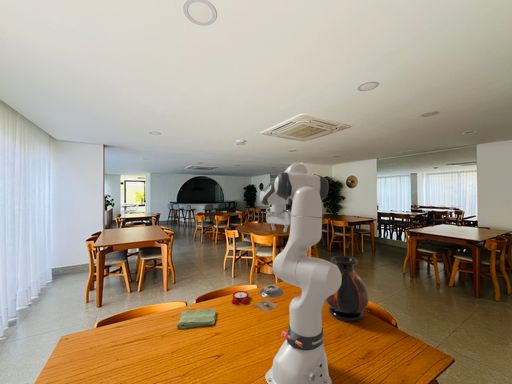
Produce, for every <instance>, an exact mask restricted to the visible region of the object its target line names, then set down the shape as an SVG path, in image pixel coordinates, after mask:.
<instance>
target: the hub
mask: <svg viewBox="0 0 512 384" xmlns="http://www.w3.org/2000/svg"><path fill="white" fill-rule="evenodd" d="M277 287H279V292H278V293H276V294H274V295H269V294H268V295H267V294H265V292H264V287H263V288H262V289H260V290H259V294H260V296H262V297H265V298H269V299H270V298H271V299H273V298H274V299H275V298H279V297H282V295H284V290H283V289H281V288H280V286H278V285H277ZM270 289H273V288H272V287H271V288H270Z"/></svg>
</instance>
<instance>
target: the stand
mask: <svg viewBox="0 0 512 384" xmlns="http://www.w3.org/2000/svg"><path fill="white" fill-rule="evenodd" d="M253 306H254V307H255V308H257V309H259V310H261V311H262V312H264V313H267V312H269V311H271V310H273V309H275V308H277V307H279V305H278V304H276V303H274V302H272V301H270V300H268V299H264V300H262V301H260V302H257V303H255V304H253Z"/></svg>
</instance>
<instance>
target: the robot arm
mask: <svg viewBox="0 0 512 384" xmlns="http://www.w3.org/2000/svg"><path fill="white" fill-rule="evenodd" d="M329 188H330V187H329V181H328V179H327V178H326V177H325V176H322V175H319V174H315V173H314V174H310V173H309V172H308V169H307V167H306V166H305V165H304V164H303V163H299V162H297V163H292V164H291V165H289V166H288V167H287V168H286V169H285V170H284V171H283V172H280V173H278V174H277V175H276V177H275V179H273V180H272V181H270V182H269V183H268V185H267V186H265V187H264V188H262V189H261V190H260V193H259V199H260V203H262V205H263V206H270V207H268V208H266V209H265V211H266V216H265V217H266V218H265V219H266V223H267V224H270V226H271V228H272V230H271V231H274V232H275V231H277V228H276V227H275V224H276V225H283V226H284V228H283V229H282V232H283V233H287V231H288V228H289V236H288V240H287V243H286V245H285V247H284V249H282V251H281V252H279V253H278V254H276V255H275V257H274V259H273V262H272V272H273V274H274V276H275V277H277V279H279V280H281V281H282V282H283V283H284V282H285V284H289V285H292V286H295V287H298V288H300V289H301V294H300V295H298V296H294V297H293V299H292V300H290V303H289V307H288V311H289V324H288V327H287V331H285V330H282V331H281V334H280V337H282V338H283V339H284V342H283V343H282V344H281V347H280V348H279V350H278V352H277V353H276V355H275V356H274V357H273V361H272V366H271V368H270V369H269V370H268V371H267V372H266V373H265V375H264V379H266V380H265V382H266V381H267V383H268V384H325V383H326V384H333V381H332V379H331V377H330V375H329V374H330V373H329V366H328V357H327V353H326V349H325V347H324V338H325V337H324V336H325V334H324V329H323V326H322V324H323V321H322V320H323V319H322V318H323V307H324V305H325V302H326V301H325V300H326V299H327V298H328V297H329V296H331V295H333V294H335V293H336V292H337V291H338V290H339V288H340V286H341V282H342V276H341V272H340V270H339V268H338V267H337V265H335V263H333V262H332V261H328V260H326V259H323V258H319V257H313V256H309V255H308V252H309V249H310V248H311V247H313V246H315V245H316V244H318V243H319V242H320V241H321V240H322V233H323V232H322V229H323V206H322V200H324V199H326V198H327V196H328V193H329V190H330V189H329ZM291 201H292V202H291ZM290 202H291V203H292V204H291V209H287V205H288V204H289V203H290ZM289 226H290V227H289ZM269 381H271V382H269ZM267 383H266V384H267Z"/></svg>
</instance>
